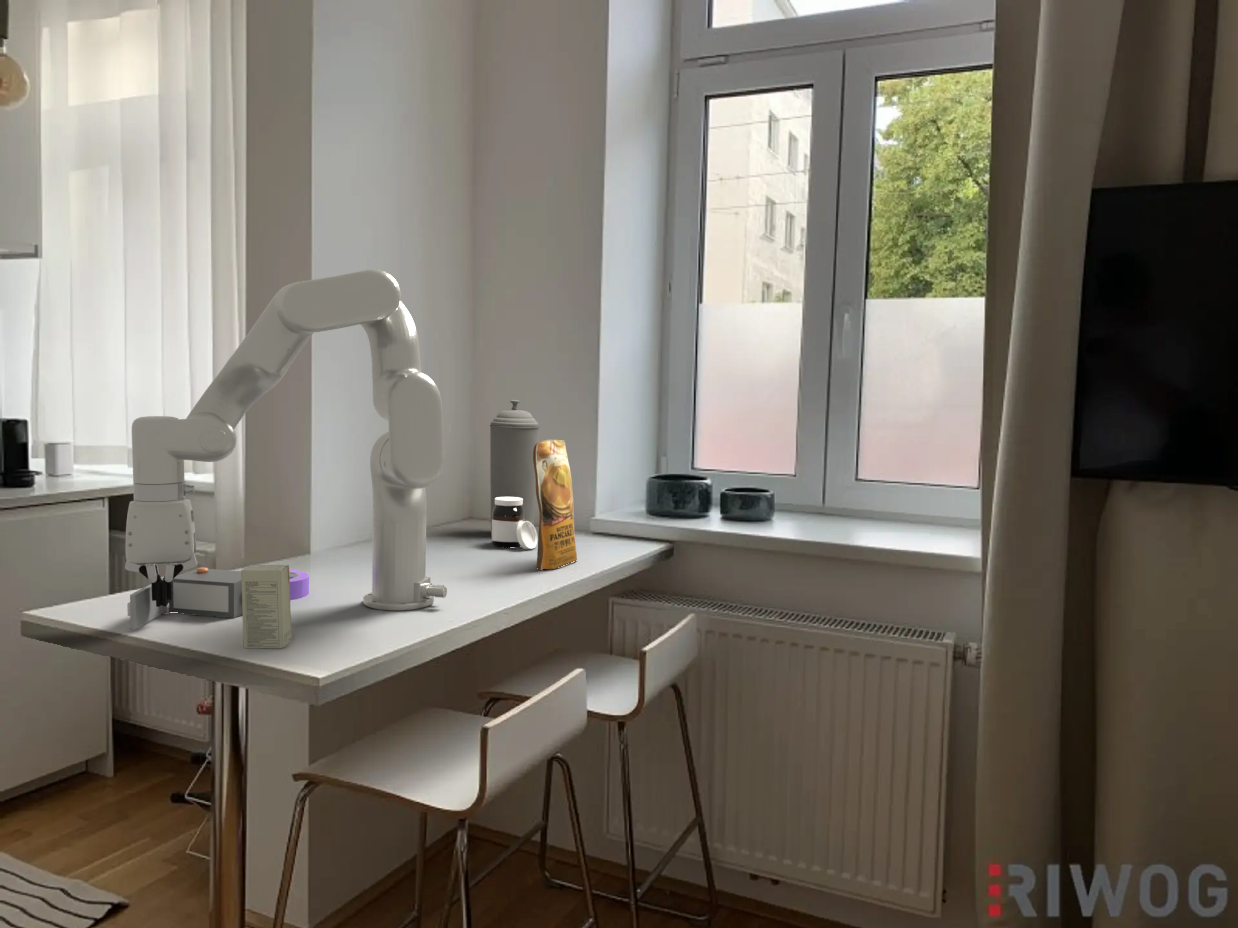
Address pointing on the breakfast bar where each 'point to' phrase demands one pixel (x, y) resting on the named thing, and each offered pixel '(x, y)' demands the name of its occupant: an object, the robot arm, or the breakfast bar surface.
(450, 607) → the breakfast bar surface
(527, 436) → the canister
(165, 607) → the side door
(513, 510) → the spread jar
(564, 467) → the pancake mix bag
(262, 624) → the skincare box
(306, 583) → the masking tape
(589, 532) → the breakfast bar surface
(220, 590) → the toy microwave oven
